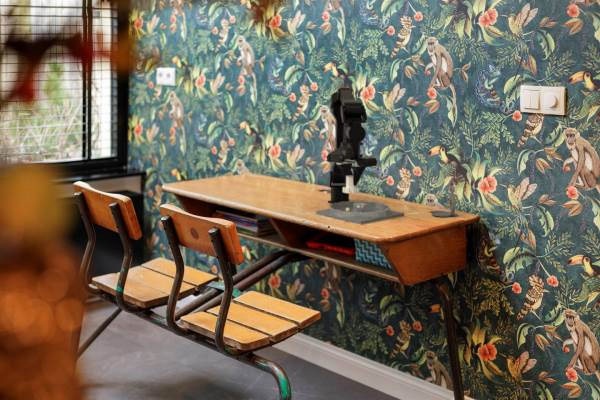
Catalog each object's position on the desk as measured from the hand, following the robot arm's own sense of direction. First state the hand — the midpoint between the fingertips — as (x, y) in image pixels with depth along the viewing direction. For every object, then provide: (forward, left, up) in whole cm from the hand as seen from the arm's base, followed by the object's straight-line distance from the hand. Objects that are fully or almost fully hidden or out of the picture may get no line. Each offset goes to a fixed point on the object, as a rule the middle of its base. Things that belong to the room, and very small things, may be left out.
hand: (350, 184), depth 272 cm
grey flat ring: (0, +5, -11) cm, 12 cm away
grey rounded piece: (+20, +27, -12) cm, 35 cm away
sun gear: (0, +5, -11) cm, 12 cm away
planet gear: (0, 0, -3) cm, 2 cm away
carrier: (0, +5, -11) cm, 12 cm away
